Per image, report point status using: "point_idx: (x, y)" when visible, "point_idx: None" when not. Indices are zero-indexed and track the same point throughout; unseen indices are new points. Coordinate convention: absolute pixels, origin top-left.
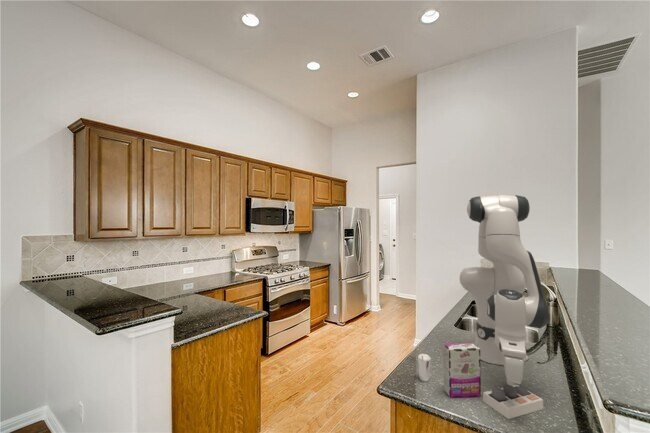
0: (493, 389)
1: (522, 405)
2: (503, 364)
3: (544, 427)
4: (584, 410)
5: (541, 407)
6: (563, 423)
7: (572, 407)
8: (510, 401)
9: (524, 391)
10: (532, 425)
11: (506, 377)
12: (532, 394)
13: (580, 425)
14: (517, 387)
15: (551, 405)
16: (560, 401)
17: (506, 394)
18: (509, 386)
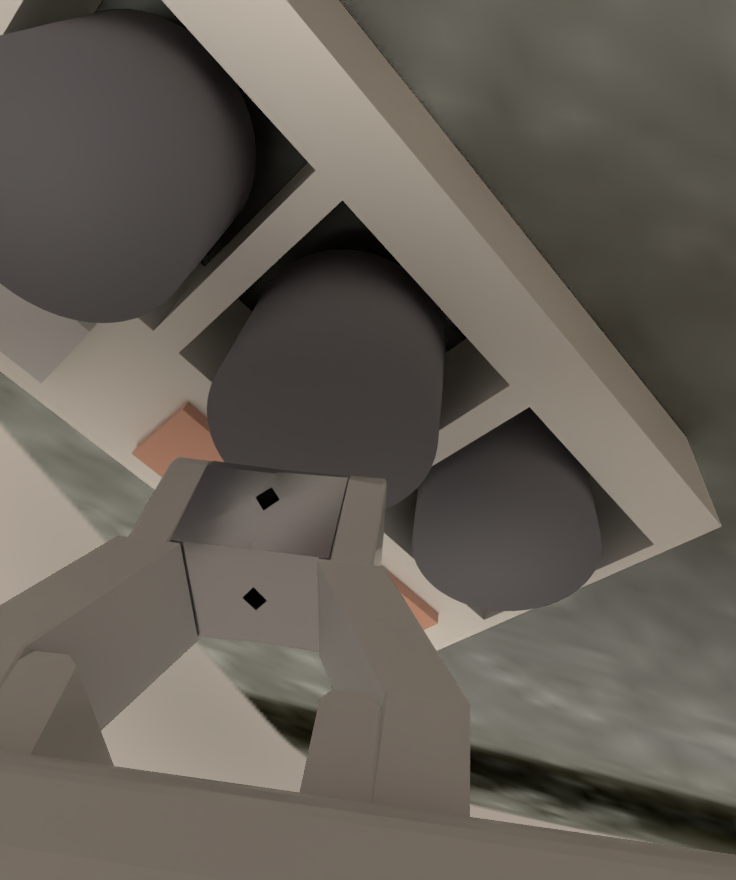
0: (42, 84)
1: (113, 455)
2: (236, 861)
3: (76, 508)
4: (514, 794)
5: None
6: (241, 641)
7: (531, 757)
8: (73, 333)
9: (454, 572)
10: (31, 426)
11: (369, 516)
12: (468, 618)
13: (282, 714)
14: (551, 522)
15: (505, 655)
16: (606, 727)
17: (249, 317)
18: (381, 438)
